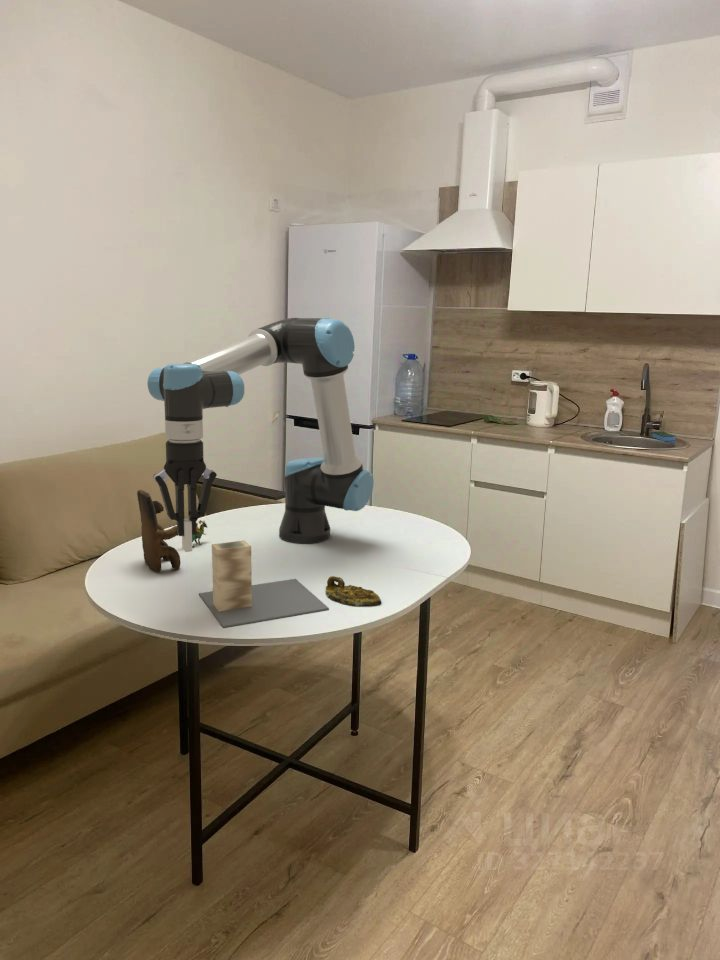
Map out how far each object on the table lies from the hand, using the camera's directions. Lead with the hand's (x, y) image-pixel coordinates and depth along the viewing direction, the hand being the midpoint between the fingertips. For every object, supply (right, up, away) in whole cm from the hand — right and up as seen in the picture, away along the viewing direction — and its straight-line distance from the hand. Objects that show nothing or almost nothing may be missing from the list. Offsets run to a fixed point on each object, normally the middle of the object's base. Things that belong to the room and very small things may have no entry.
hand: (187, 549), depth 154 cm
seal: (+35, -13, +15) cm, 40 cm away
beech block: (+8, -13, +7) cm, 17 cm away
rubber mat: (+15, -13, +11) cm, 22 cm away
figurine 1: (-15, -8, +32) cm, 36 cm away
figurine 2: (-10, -4, +49) cm, 50 cm away
